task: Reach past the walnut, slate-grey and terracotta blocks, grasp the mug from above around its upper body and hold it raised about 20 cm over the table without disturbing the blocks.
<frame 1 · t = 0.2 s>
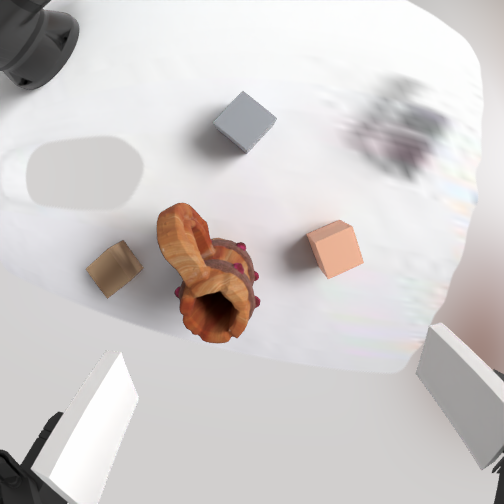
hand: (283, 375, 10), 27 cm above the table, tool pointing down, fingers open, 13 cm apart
slate block: (245, 127, 33), on the table
mug: (216, 247, 37), on the table
walnut block: (122, 263, 37), on the table
terracotta block: (329, 243, 37), on the table
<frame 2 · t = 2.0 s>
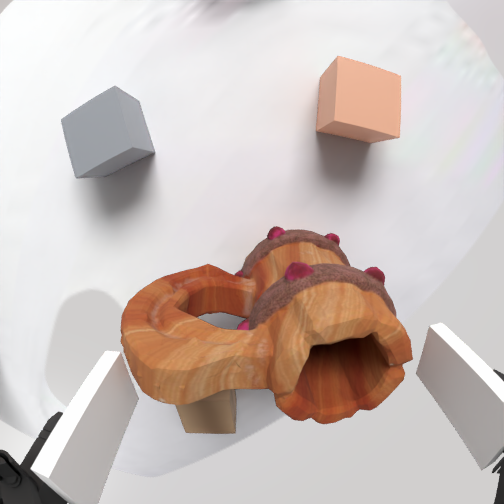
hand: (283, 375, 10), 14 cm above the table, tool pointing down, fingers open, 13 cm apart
slate block: (121, 138, 20), on the table
mug: (260, 265, 24), on the table, touching gripper
walnut block: (210, 384, 27), on the table
terracotta block: (346, 109, 20), on the table
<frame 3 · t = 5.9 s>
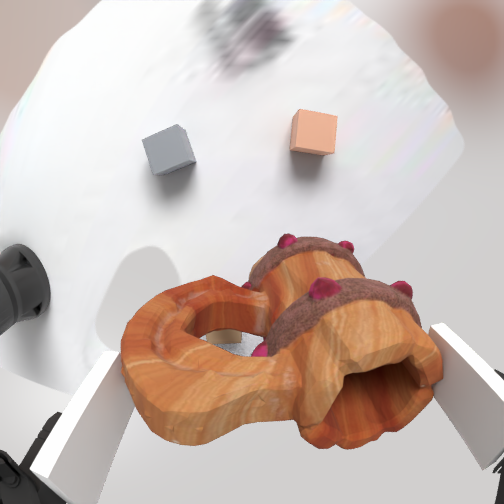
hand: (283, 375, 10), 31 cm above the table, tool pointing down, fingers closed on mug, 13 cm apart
slate block: (174, 152, 37), on the table
mug: (267, 274, 22), point 18 cm above the table, touching gripper
walnut block: (224, 313, 43), on the table
terracotta block: (308, 136, 36), on the table
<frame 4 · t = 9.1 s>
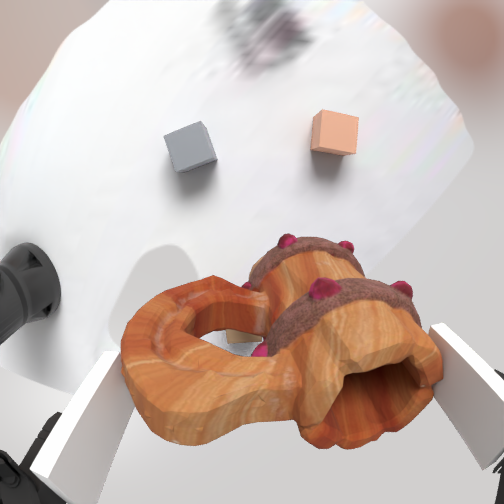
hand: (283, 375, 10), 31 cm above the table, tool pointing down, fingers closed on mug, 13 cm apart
slate block: (195, 149, 37), on the table
mug: (267, 274, 22), point 18 cm above the table, touching gripper
walnut block: (243, 311, 43), on the table
terracotta block: (328, 136, 36), on the table
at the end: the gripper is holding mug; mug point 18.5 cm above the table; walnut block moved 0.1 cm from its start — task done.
